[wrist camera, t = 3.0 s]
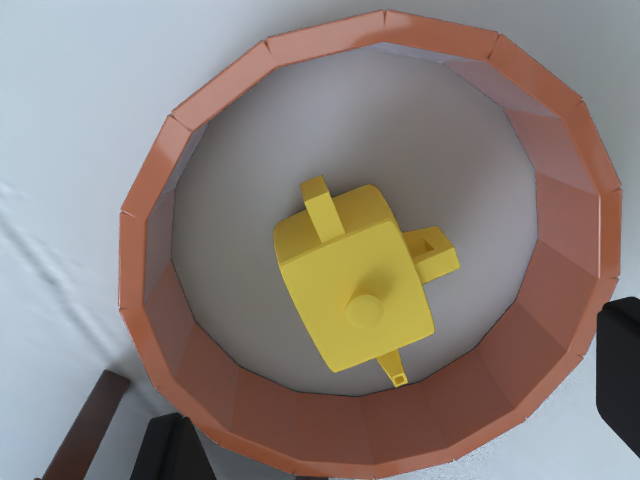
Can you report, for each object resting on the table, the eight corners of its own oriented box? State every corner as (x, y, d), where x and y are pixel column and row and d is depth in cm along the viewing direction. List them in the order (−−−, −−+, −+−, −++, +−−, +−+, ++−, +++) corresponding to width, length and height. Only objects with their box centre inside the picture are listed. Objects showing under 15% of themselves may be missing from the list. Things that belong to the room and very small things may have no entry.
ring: (547, -25, 16) (630, -52, 12) (559, 362, 22) (617, 423, 18) (81, 89, 16) (20, 97, 12) (223, 442, 22) (212, 519, 18)
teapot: (452, 298, 20) (505, 372, 15) (331, 347, 20) (347, 434, 16) (392, 128, 17) (435, 153, 12) (253, 189, 18) (243, 236, 13)
